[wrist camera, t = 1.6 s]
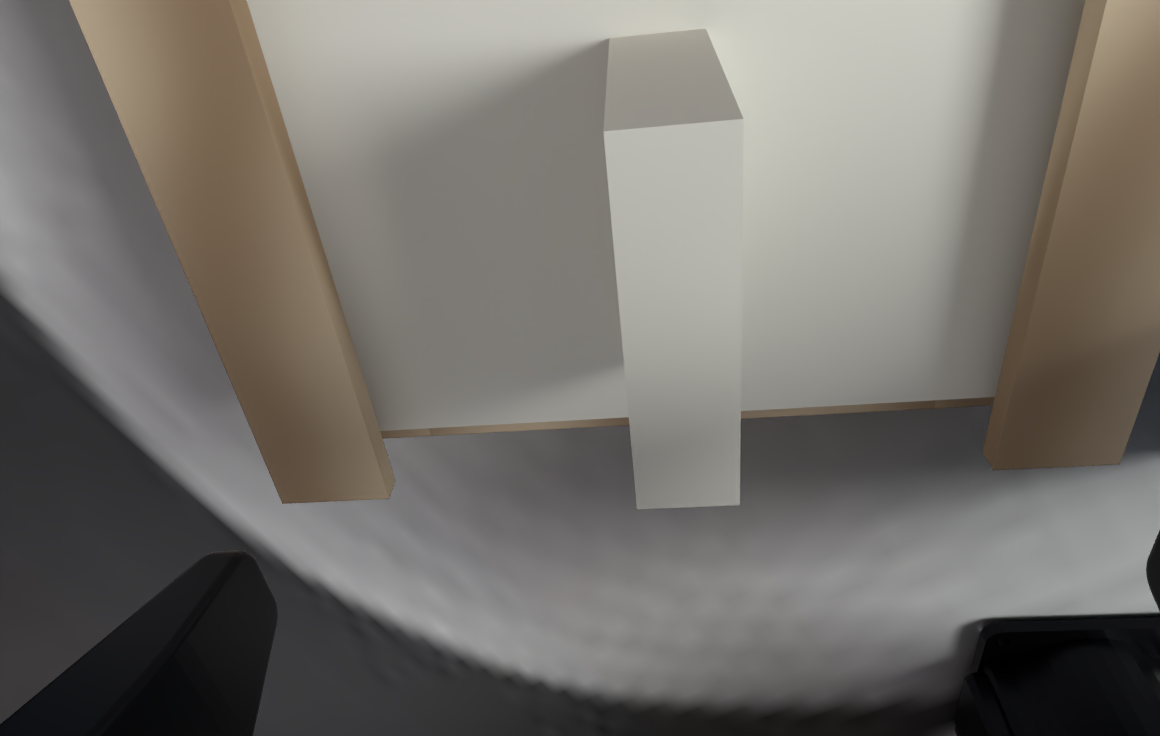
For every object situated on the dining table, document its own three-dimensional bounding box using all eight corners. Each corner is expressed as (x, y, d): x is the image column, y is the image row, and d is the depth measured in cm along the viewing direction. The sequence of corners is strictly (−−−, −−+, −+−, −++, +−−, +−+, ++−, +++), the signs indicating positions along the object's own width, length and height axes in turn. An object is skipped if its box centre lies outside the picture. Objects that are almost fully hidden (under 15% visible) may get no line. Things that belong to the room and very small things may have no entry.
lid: (1135, -168, 12) (1486, -166, 7) (1009, 368, 18) (1159, 577, 13) (213, -58, 14) (-22, 5, 9) (361, 406, 19) (270, 607, 14)
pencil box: (1168, -249, 14) (1385, -281, 10) (1024, 342, 20) (1120, 464, 16) (175, -123, 15) (24, -107, 11) (342, 384, 22) (282, 503, 18)
